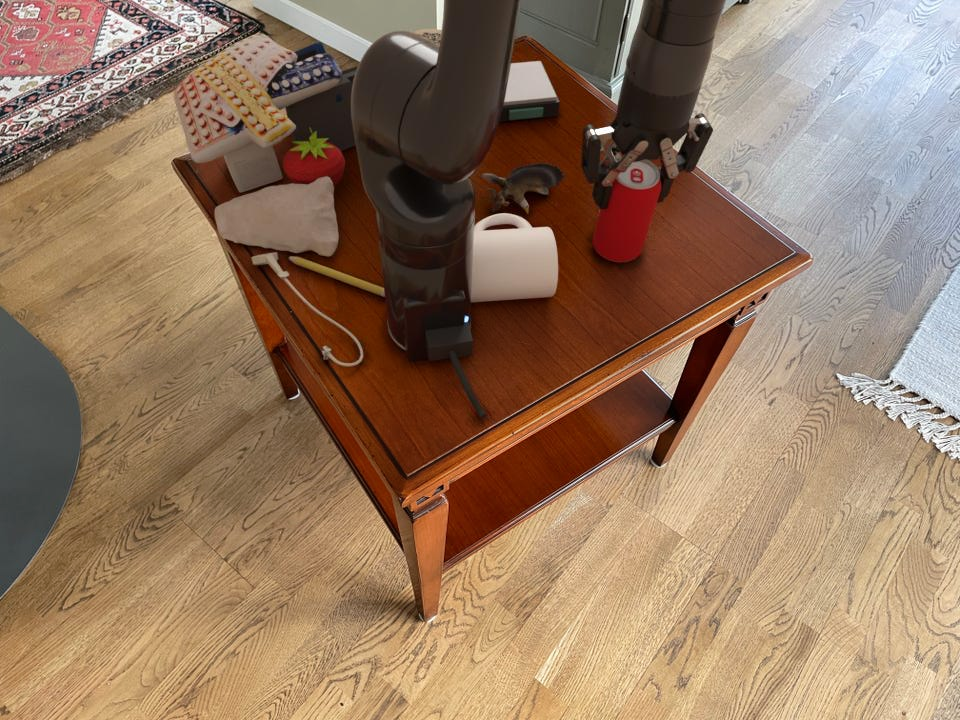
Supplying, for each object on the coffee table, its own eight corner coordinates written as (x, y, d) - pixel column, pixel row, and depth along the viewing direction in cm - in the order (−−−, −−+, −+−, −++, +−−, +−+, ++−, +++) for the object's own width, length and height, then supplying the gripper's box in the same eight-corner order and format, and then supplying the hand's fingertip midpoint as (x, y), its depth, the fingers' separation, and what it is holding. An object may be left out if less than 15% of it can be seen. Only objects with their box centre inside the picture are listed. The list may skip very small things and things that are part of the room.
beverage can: (640, 233, 90) (663, 156, 80) (641, 268, 86) (667, 193, 76) (591, 228, 90) (609, 151, 80) (590, 263, 86) (609, 187, 77)
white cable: (364, 376, 79) (289, 251, 87) (370, 358, 76) (292, 231, 84) (321, 391, 76) (246, 260, 84) (325, 373, 74) (248, 240, 81)
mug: (552, 310, 82) (562, 263, 75) (467, 317, 81) (469, 269, 74) (535, 237, 89) (542, 188, 82) (456, 242, 88) (457, 192, 81)
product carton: (284, 179, 93) (270, 134, 87) (239, 194, 91) (221, 148, 85) (270, 152, 96) (256, 106, 90) (226, 165, 94) (208, 119, 88)
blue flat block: (344, 100, 90) (338, 102, 90) (311, 106, 102) (307, 108, 101) (322, 40, 87) (316, 42, 87) (291, 53, 99) (286, 55, 98)
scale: (558, 118, 103) (561, 100, 100) (492, 125, 101) (493, 106, 99) (540, 76, 109) (542, 58, 106) (477, 82, 107) (477, 64, 105)
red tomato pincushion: (290, 184, 92) (274, 119, 84) (347, 179, 93) (338, 113, 85) (291, 215, 89) (276, 151, 81) (351, 209, 90) (342, 145, 82)
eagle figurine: (520, 231, 87) (574, 192, 89) (496, 181, 84) (552, 141, 86) (491, 224, 94) (541, 187, 96) (467, 177, 90) (520, 140, 92)
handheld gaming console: (437, 102, 104) (436, 38, 95) (447, 112, 102) (447, 48, 94) (294, 155, 96) (279, 89, 87) (302, 166, 94) (289, 100, 86)
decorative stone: (339, 181, 87) (219, 188, 87) (332, 171, 83) (205, 179, 83) (344, 259, 87) (223, 266, 87) (336, 254, 83) (209, 261, 83)
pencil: (287, 256, 85) (286, 250, 84) (390, 294, 82) (390, 288, 82) (283, 261, 85) (281, 255, 84) (386, 299, 82) (386, 294, 81)
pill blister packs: (360, 90, 88) (278, 31, 92) (352, 57, 83) (265, -5, 86) (235, 202, 83) (154, 134, 86) (217, 173, 78) (131, 102, 81)
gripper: (606, 100, 65) (579, 231, 79) (749, 86, 67) (698, 216, 81) (582, 54, 69) (560, 186, 83) (718, 42, 71) (674, 173, 85)
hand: (628, 200), depth 82 cm, fingers closed on beverage can, 6 cm apart
